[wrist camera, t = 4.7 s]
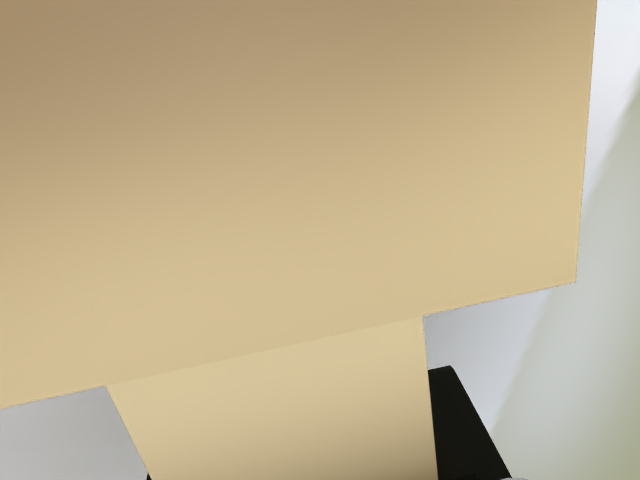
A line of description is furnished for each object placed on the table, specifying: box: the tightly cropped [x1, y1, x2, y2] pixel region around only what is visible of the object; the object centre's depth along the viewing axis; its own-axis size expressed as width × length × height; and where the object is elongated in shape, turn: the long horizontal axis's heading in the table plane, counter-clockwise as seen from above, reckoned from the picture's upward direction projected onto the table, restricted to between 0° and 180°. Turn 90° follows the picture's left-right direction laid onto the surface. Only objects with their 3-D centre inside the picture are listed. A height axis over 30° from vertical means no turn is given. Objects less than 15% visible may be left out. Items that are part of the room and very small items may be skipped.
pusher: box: [0, 0, 597, 480], centre depth 8 cm, size 15×6×6 cm, turn 10°
